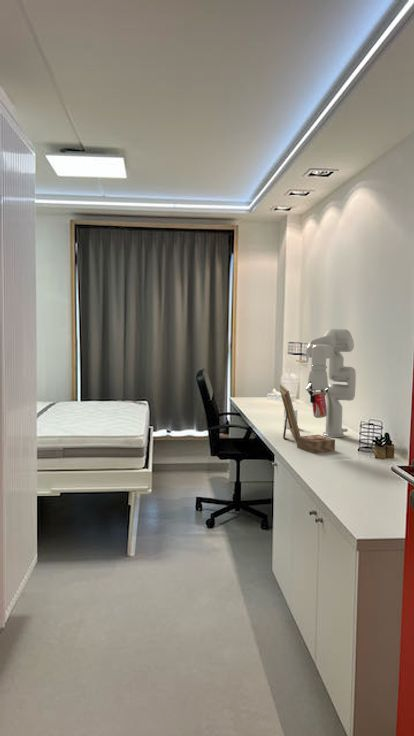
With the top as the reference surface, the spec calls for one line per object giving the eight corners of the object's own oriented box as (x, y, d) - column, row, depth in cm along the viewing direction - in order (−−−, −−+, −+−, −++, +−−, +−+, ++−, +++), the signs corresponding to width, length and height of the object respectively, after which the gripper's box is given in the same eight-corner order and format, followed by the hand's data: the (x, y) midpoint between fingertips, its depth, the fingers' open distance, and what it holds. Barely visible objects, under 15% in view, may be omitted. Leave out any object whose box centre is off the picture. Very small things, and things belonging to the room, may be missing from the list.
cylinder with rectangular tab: (299, 427, 344) (300, 409, 343) (292, 429, 338) (292, 410, 337) (288, 425, 350) (288, 407, 350) (280, 427, 344) (280, 409, 343)
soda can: (328, 414, 285) (325, 390, 283) (326, 417, 278) (323, 393, 277) (315, 415, 287) (312, 391, 286) (312, 418, 281) (309, 394, 279)
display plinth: (317, 445, 293) (318, 433, 292) (334, 450, 280) (335, 438, 280) (297, 447, 287) (297, 436, 286) (313, 453, 274) (313, 441, 274)
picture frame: (302, 445, 293) (303, 391, 291) (284, 444, 294) (285, 390, 291) (294, 433, 326) (295, 384, 324) (277, 433, 326) (278, 384, 324)
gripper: (326, 367, 287) (325, 400, 289) (301, 368, 280) (300, 402, 281) (336, 368, 281) (335, 402, 282) (310, 369, 273) (309, 404, 274)
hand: (317, 402), depth 282 cm, fingers closed on soda can, 5 cm apart
